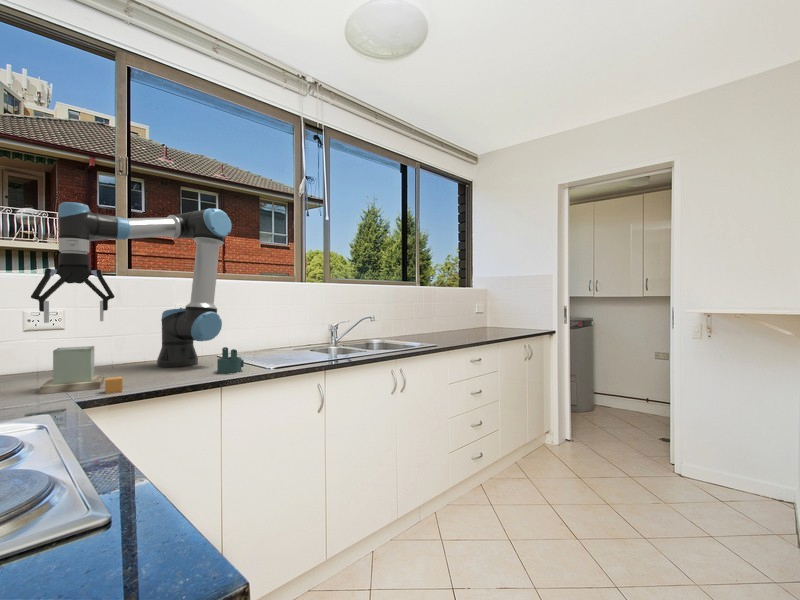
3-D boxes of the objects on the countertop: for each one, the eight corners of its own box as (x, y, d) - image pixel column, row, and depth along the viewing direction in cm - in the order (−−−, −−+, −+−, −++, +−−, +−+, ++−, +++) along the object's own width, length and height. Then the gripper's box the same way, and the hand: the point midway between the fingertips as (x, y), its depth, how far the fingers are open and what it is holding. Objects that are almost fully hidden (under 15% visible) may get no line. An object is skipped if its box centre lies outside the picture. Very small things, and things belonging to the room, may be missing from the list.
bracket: (234, 374, 150) (235, 349, 150) (211, 373, 152) (211, 349, 152) (247, 370, 159) (247, 347, 159) (225, 369, 161) (225, 346, 161)
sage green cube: (94, 376, 134) (94, 346, 134) (90, 381, 127) (90, 348, 127) (58, 379, 130) (58, 347, 130) (53, 384, 122) (53, 350, 122)
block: (122, 389, 125) (122, 376, 125) (121, 392, 121) (121, 378, 121) (106, 391, 123) (106, 377, 123) (105, 393, 119) (105, 380, 119)
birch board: (104, 380, 138) (104, 374, 138) (100, 388, 126) (99, 382, 126) (50, 385, 131) (50, 379, 131) (39, 394, 119) (39, 387, 119)
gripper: (17, 249, 119) (18, 323, 119) (122, 254, 132) (122, 321, 132) (24, 252, 125) (24, 322, 125) (123, 256, 138) (123, 320, 138)
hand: (74, 322), depth 128 cm, fingers open, 13 cm apart
